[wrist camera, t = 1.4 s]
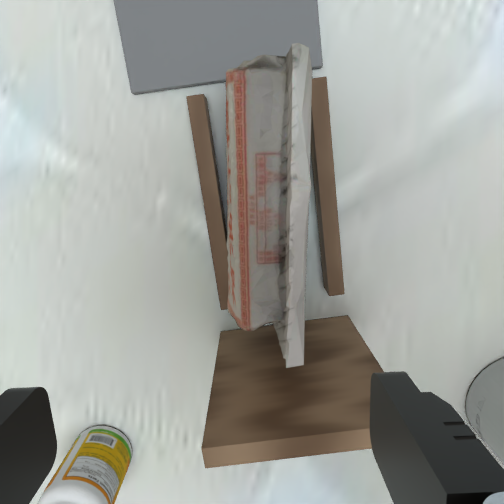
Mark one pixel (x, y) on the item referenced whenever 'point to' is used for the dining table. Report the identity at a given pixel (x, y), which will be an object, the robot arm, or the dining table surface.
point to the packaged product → (269, 194)
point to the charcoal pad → (209, 38)
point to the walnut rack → (267, 343)
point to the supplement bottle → (91, 469)
